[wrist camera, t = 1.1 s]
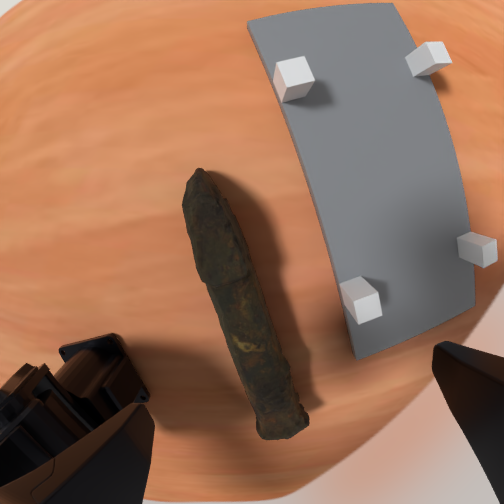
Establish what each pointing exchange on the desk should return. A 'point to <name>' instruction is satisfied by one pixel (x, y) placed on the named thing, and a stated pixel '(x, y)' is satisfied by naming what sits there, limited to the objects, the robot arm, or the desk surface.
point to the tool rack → (376, 166)
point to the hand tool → (241, 309)
